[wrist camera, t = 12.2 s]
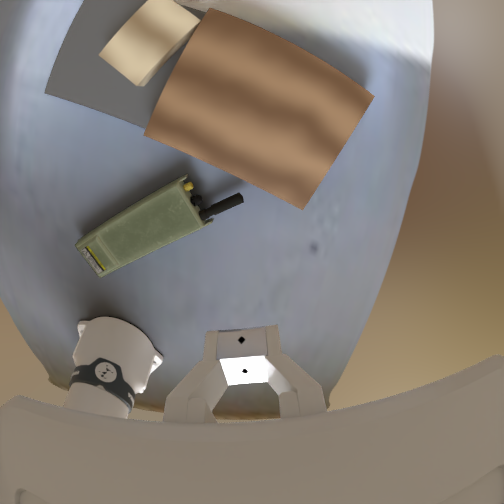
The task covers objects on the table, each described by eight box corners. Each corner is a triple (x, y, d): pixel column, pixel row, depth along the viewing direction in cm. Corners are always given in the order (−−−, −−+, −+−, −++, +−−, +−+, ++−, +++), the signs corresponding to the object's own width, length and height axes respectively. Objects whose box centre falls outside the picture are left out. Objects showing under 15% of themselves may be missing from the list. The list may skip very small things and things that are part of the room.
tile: (144, 86, 27) (136, 86, 24) (107, 56, 24) (98, 55, 22) (204, 25, 23) (200, 20, 21) (164, -3, 20) (158, -10, 18)
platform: (297, 199, 35) (302, 210, 32) (153, 131, 30) (143, 135, 27) (362, 95, 28) (374, 96, 25) (213, 16, 23) (209, 7, 20)
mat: (149, 129, 30) (148, 130, 29) (46, 92, 25) (44, 93, 25) (209, 14, 23) (209, 13, 22) (92, -11, 18) (90, -11, 18)
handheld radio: (106, 269, 40) (247, 200, 35) (98, 281, 38) (247, 211, 32) (81, 236, 37) (222, 154, 32) (71, 247, 34) (220, 160, 29)
